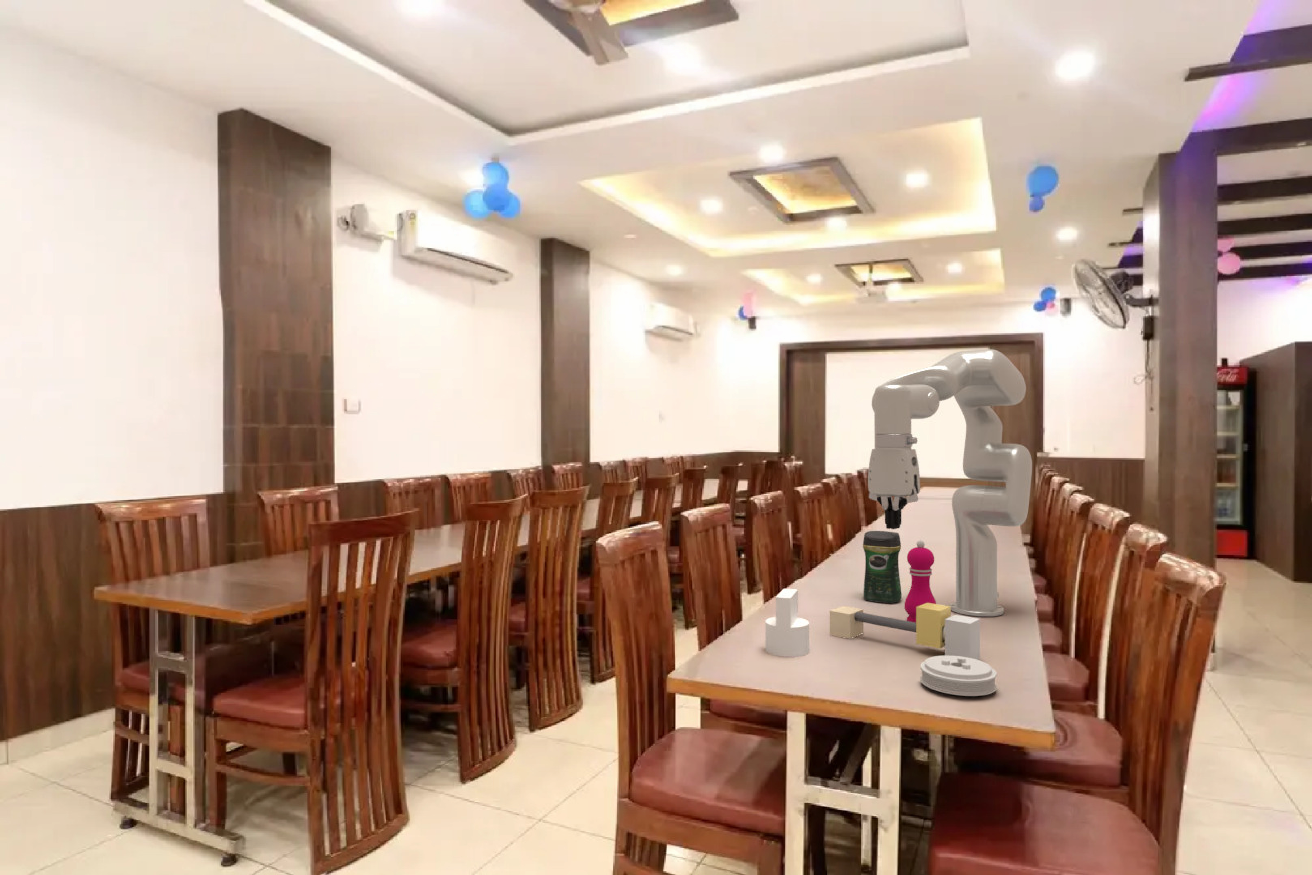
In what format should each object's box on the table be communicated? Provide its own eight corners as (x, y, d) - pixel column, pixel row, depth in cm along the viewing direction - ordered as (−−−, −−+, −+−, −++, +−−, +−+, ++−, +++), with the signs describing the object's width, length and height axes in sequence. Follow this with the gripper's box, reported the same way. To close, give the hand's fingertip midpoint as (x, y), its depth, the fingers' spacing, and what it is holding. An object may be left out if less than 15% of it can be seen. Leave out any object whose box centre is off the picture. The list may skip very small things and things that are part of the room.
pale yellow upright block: (927, 638, 159) (927, 602, 159) (950, 643, 156) (950, 606, 156) (916, 643, 156) (916, 606, 155) (940, 648, 152) (940, 611, 152)
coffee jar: (904, 599, 203) (904, 530, 203) (896, 605, 196) (896, 534, 196) (868, 595, 208) (868, 528, 208) (859, 601, 202) (859, 531, 201)
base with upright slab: (805, 658, 152) (805, 599, 152) (761, 654, 155) (761, 596, 155) (812, 646, 161) (812, 590, 160) (770, 642, 164) (770, 587, 164)
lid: (985, 678, 140) (985, 651, 140) (1005, 703, 128) (1005, 674, 128) (914, 675, 142) (914, 649, 142) (927, 699, 130) (927, 670, 130)
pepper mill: (939, 630, 172) (939, 543, 172) (906, 629, 173) (906, 542, 173) (934, 622, 179) (934, 538, 179) (902, 621, 181) (902, 537, 180)
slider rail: (843, 629, 173) (843, 594, 173) (980, 657, 152) (980, 618, 152) (829, 634, 169) (829, 599, 169) (969, 664, 148) (969, 624, 148)
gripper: (934, 442, 159) (934, 529, 159) (869, 441, 169) (869, 523, 170) (918, 443, 153) (918, 533, 154) (852, 442, 164) (852, 527, 164)
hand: (893, 528), depth 162 cm, fingers closed
